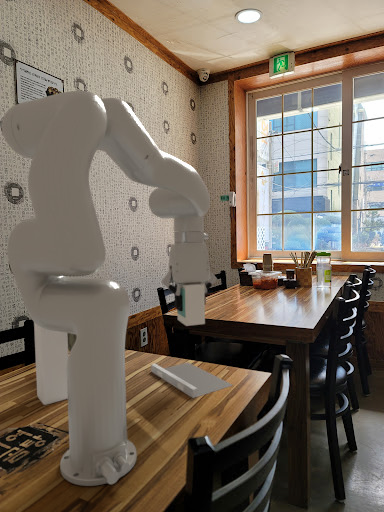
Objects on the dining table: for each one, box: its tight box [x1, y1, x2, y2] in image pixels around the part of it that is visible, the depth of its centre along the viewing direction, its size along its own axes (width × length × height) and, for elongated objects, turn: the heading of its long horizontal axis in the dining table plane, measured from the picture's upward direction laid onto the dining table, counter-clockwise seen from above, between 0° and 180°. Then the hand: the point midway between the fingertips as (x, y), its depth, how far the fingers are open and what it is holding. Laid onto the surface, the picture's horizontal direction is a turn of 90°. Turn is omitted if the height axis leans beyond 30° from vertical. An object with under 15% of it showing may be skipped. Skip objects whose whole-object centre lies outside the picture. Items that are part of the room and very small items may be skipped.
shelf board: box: [150, 361, 234, 399], centre depth 95 cm, size 20×12×4 cm, turn 34°
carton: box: [176, 283, 206, 327], centre depth 95 cm, size 7×5×10 cm
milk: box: [33, 321, 69, 406], centre depth 88 cm, size 6×6×22 cm
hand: (190, 308), depth 95 cm, fingers closed on carton, 5 cm apart
